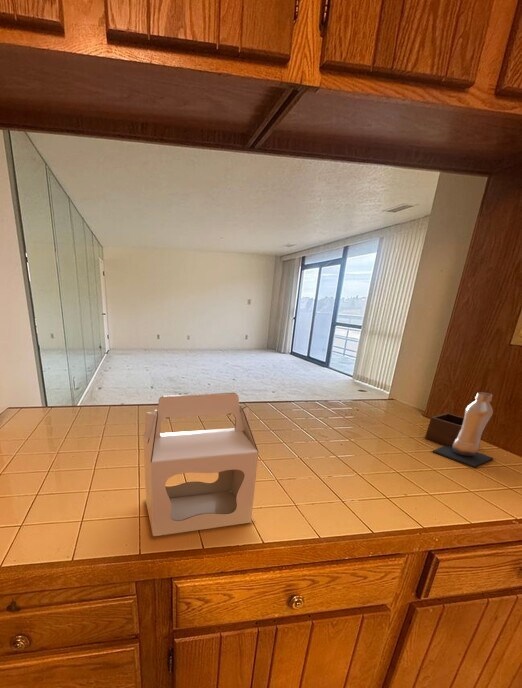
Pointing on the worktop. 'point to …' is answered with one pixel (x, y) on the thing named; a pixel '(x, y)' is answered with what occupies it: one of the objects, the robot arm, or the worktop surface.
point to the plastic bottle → (473, 425)
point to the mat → (463, 456)
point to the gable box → (199, 466)
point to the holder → (444, 428)
